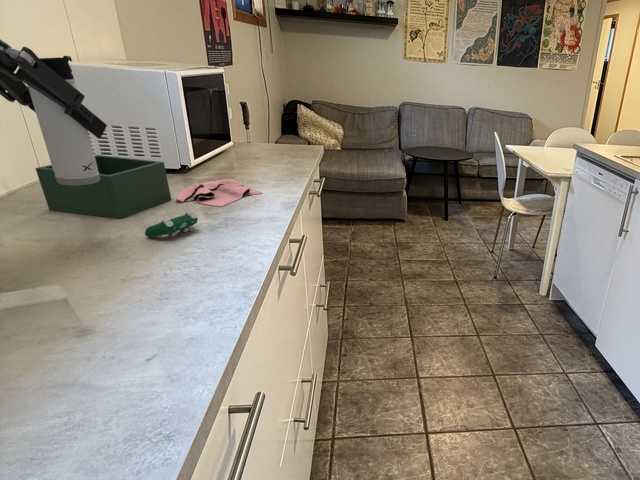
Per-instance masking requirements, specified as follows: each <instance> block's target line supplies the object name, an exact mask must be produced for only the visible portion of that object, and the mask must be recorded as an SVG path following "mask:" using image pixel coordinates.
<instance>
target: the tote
mask: <svg viewBox="0 0 640 480" xmlns="http://www.w3.org/2000/svg"><path fill="white" fill-rule="evenodd" d="M94 156H95V160H96V164H97V168H98V172H99V175H100V180H99V181H98V182H96V183H93V184H87V185H62V184H59V183H58V182H57V181H56V178H55V173H54V171H53V168H52V164H48V165H44V166H39V167H35V171H36V174H37V177H38V181H39V183H40V187H41V190H42V193H43V195H44V196H43V197H44V199H45V201H46V204H47V208H48V210H49V211H51V212H52V211H54V212H60V213H61V212H62V213H70V214H76V215H86V216H92V217H93V216H95V217H101V218H102V217H103V218H111V219H118V220H122V219H124V218H127V217H130V216H132V215H136V214H138V213H141V212H143V211H146V210H148V209H151V208H153V207H156V206H159V205H161V204H164V203H167V202H170V201H172V196H171V191H170V186H169V182H168V176H167V172H166V166H165V162H164V161H157V160H149V159H139V158H131V157H130V158H129V157H121V156H120V157H119V156H113V155H112V156H111V155H103V154H102V155H101V154H96V155H95V154H94Z"/></svg>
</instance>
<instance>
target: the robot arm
mask: <svg viewBox="0 0 640 480" xmlns="http://www.w3.org/2000/svg"><path fill="white" fill-rule="evenodd" d="M28 85H29V86H30V87H32V88H33V89H35V90H36V91H38V92H40V93H41V94H43V95H44V96H46V97H47V98H49V99H51V100H52V101H54V102H55V103H57V104H58V105H60V106H62V107H63V108H65V111H64V113H65V114H67V115H69V116H70V117H72V118H73V119H74V120H75V121H77V122H78V123H79V124H80V125H82V126H83V127H84V128H86V129H87V130H88V133H91V134H92V135H93V136H94V137H96V138H98V139H101V138H102V136H103V134H104V132H105V130H106V128H107V126H108V124H107V123H105V122H104V121H103V120H102V119H100V117H98V116H97V115H96V114H95V113H94V112H92V111H91V110H90V109H88V108H87V106H85V105H84V104H82V103H83V101H84V99H85V98H86V96H85V94H83V93H82V92H81V91H79V90H78V88H77V89H76V88H74V87H73V86H72V85H71V84H69V83H68V82H67V81H66V80H65V79H63V78H62V77H61V76H60V75H58V74H57V73H56V72H55V71H53V70H52V69H51V68H50V67H48V66H47V65H46V64H45V63H44V62H42V61H41V60H40V59H39V57H38V56H37V54H36V53H35V52H34V51H33V50H32V49H30V47H27V46H23V47H22V48H21V49H20V50H19V49H15V48H12V46H11V45H10V44H8V43H7V42H6V41H4V40H2V39H0V96H2V97H3V98H4V99H5V100H6V101H8V102H11V103H14V102H15V101H16V102H17V103H18V104H19V105H21V106H24V107H28V109H30V110H31V111H33V112H34V113H36V112H35V108H34V105H33V102H32V98H31V95H30V92H29V89H28Z"/></svg>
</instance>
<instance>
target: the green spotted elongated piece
mask: <svg viewBox="0 0 640 480" xmlns="http://www.w3.org/2000/svg"><path fill="white" fill-rule="evenodd" d="M197 223H198V216H197V215H196V213H194V212H193V211H192V210H190V209H187V210H186V212H185V213H184V214H183V215H180V216H177V217H174V218H169V217H168V216H163V217H162V220H161V221H160V222H158V223H156V224H153V225H150V226H148V227H146V229H145V230H144V235H145V237H148V238H156V237H157V238H158V237H164V236H167V235H168V236H170V237H174V238H175V237H176V236H177V235H178V233H177V232H178V231H179V232H183V233H187V232H189V231H190V227H192V226H194V225H197Z"/></svg>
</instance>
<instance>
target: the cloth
mask: <svg viewBox="0 0 640 480" xmlns="http://www.w3.org/2000/svg"><path fill="white" fill-rule="evenodd" d="M261 194H263V192H262V191H260V190H257V189H255V188H251V187H248V186H245V185H244V183H242V182H240V181H237V180H234V179H230V178H225V179H217V180H211V181H210V180H209V181H206V182H202V183H198V184H195V185H191V186H187V187H186V188H184V190H182V191H181V192H180V193H179V194H178V195H177V197H176V198H175V202H176V203H177V202H178V203H185V202H191V201H194V200H195V198H196V201H197V202H198V203H199V204H201V205H207V206H214V207H219V208H222V207H226V206H227V205H229V204H232V203H234V202H236V201H238V200H240V199H242V198H243V197H248V196H255V195H261Z"/></svg>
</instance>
